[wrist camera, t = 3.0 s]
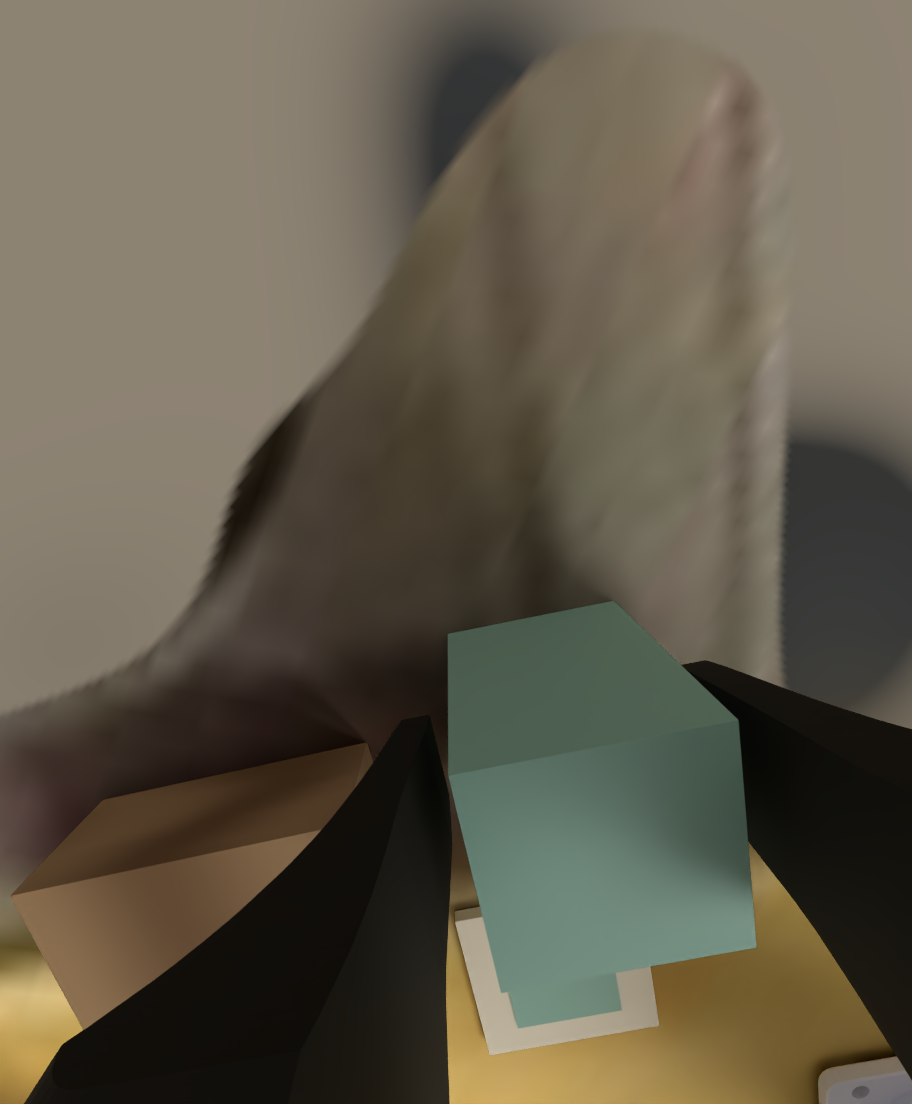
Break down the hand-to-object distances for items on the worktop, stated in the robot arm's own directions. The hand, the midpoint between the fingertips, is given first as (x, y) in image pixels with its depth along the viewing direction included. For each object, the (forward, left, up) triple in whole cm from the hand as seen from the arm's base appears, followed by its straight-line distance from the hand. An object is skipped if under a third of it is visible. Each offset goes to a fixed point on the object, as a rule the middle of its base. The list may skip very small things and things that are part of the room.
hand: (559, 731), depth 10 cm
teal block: (0, 0, -2) cm, 2 cm away
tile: (+1, +8, -2) cm, 9 cm away
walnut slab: (+8, +4, -2) cm, 9 cm away
